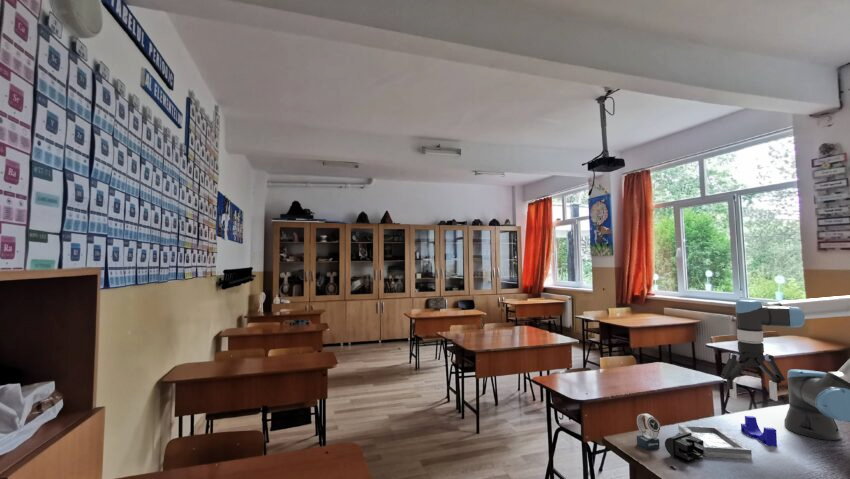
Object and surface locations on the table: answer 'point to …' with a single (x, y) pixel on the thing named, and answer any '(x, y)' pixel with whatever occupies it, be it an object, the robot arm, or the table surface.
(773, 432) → the cable clip
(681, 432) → the grey tray
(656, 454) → the table surface
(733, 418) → the table surface
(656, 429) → the watch
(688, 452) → the end cap
